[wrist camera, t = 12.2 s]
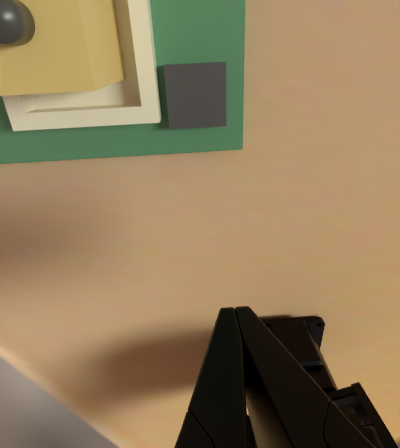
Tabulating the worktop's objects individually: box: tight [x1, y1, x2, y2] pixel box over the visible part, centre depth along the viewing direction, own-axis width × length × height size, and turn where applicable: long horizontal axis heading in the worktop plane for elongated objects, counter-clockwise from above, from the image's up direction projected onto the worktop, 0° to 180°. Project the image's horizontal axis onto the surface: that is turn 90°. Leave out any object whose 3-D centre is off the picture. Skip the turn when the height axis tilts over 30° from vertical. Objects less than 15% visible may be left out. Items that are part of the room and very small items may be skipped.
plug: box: [0, 0, 125, 96], centre depth 11 cm, size 5×4×7 cm
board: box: [0, 0, 245, 164], centre depth 14 cm, size 12×16×3 cm
